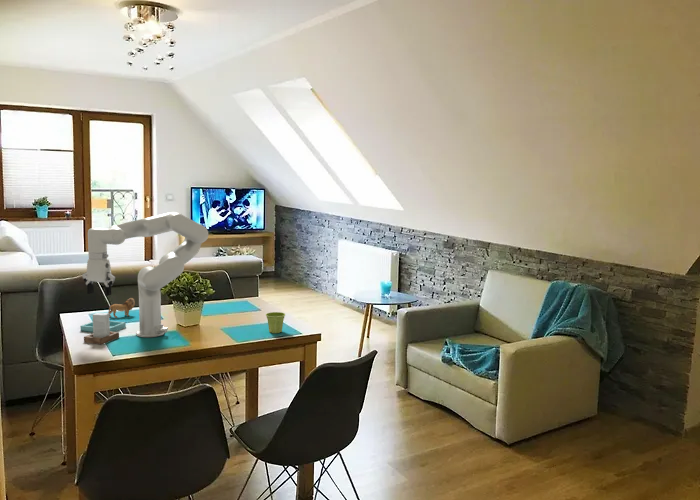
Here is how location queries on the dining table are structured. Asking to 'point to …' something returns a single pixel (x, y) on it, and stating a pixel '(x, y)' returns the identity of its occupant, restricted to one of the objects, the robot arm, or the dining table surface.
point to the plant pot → (275, 321)
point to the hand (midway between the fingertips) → (99, 294)
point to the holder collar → (101, 340)
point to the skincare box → (101, 325)
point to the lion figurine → (122, 307)
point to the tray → (113, 326)
